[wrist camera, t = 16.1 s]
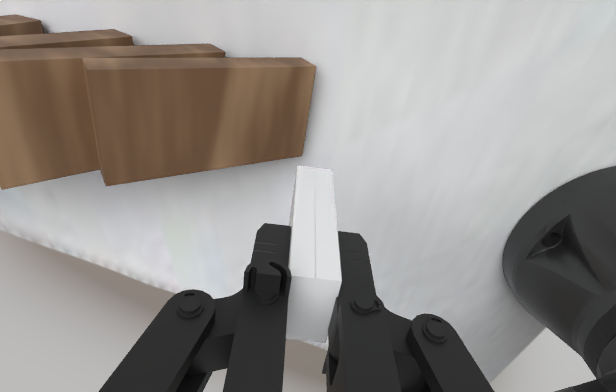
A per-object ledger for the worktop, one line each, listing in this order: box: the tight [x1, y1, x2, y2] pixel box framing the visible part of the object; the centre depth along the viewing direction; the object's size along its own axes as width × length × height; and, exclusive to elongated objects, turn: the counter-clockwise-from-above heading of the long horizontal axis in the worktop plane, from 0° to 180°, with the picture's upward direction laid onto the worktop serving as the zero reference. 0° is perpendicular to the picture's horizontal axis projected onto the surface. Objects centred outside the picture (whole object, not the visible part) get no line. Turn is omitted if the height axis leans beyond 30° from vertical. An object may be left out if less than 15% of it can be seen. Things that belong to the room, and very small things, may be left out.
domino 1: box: [0, 29, 133, 49], centre depth 20 cm, size 2×6×12 cm
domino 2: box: [0, 44, 225, 190], centre depth 21 cm, size 2×6×12 cm
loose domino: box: [82, 58, 316, 186], centre depth 22 cm, size 2×6×12 cm
